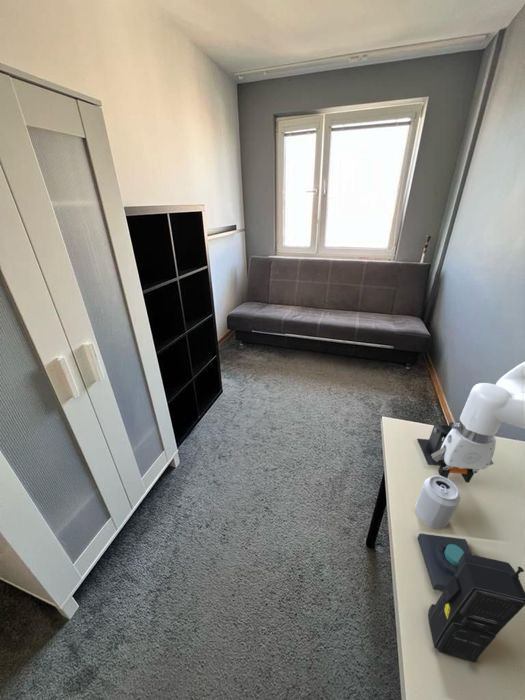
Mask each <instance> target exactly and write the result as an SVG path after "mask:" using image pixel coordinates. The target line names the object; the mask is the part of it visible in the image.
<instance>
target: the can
mask: <svg viewBox="0 0 525 700" xmlns="http://www.w3.org/2000/svg"><path fill="white" fill-rule="evenodd" d="M460 501H461V495H460V491H459V489H458V487H457V485H456V484H455V483H454V482H453V481H452V480H450V479H449V478H448V477H447V478H445V477H442V476H441V475H432V476H430V477H427V479H425V480H424V482H423V484H422V487H421V490H420V493H419V495H418V498H417V500H416V503H415V506H414V511H415V514H416V516H417V518H418V520H420V522H422V523H423V524H424V525H425V526H427V527H429V528H431V529H434V530H442V529H443V530H444V529H446V527H447V526H448V525H449V523H450V521H451V519H452V518H453V516H454V514H455V511H456V509H457V508H458V506H459V504H460Z"/></svg>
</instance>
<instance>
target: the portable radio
mask: <svg viewBox="0 0 525 700" xmlns="http://www.w3.org/2000/svg"><path fill="white" fill-rule="evenodd" d="M524 572H525V570H524V569H523V567H521V566H517V570H515V569H514V568H513V566H512V565H511V564H510V563H509V562H507V561H504V560H498V559H494V558H489V557H485V556H479V555H475V554H472V555H471V554H467V553H463V554H462V556H461V558H460V559H459V561H458V570H457V572H456V573H455V575H454V576H453V578H452V579H451V581H450V582H449V583H448V584H447V586H446V587H445V588H444V589H443V590H441V591H442V593H441V595H440V596H439V598H438V600H437V601H436V603H431V604H430V606H429V608H428V612H427V619H428V625H429V629H430V634H431V635H430V636H431V639H432V644H433V647H434V648H435V649H437V651H438V652H439V653H442V654H445V655H448V656H452V657H455V658H458V659H461V660H465V661H469V662H472V663H476V662H477V660H478V659H479V657H480V656H481V655H482V654H483V652H484V651H485V650H486V649H487V648H488V647H489V646H490V645H491V643H492V642H493V641H494V640H495V638H496V637H497V635H498V634H499V633H500V631H501V630H503V629H504V627H505V626H507V624H508V623H509V622H510V621H511V620H512V619H513V618H514V617H515V616H516V615H517V614H518V613H519V612H520V611H521V610H522V609H523V608H524V607H525V589H524V587H523V585H522V582H521V579H520V574H521V573H524Z"/></svg>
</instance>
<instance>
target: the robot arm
mask: <svg viewBox="0 0 525 700" xmlns="http://www.w3.org/2000/svg"><path fill="white" fill-rule="evenodd" d="M502 424H507V425H510V426H514V427H517V428H520V429H523V430H525V361H523V362H522V363H520V364H518V365H517V366H515V367H514V368H512V369H511V370H509V371H508V372H507V373H505V374H504V375H502V376H501V377H500V378H499V379H498V380H497V381H496V383H495V384H494V383H491V382H490V383H489V382H479V383H476V384H475V385H473V386H472V388H471V390H470V392H469V395H468V396H467V400H466V402H465V405H464V407H463V409H462V411H461V414H460V416H459V418H458V420H457V422H456V423H454V424H452V430H451V431H450V432H449V434H448V435H447V437H446V438H445V440H444V442H443V444H442V446H441V449H440V450H438V451H436V452H434V453H433V454H431V456H432V458H433V459H434V460H435V461H436V462H438V464H439V465H440V466H439V467H438V476H442V477H445V478H447V479H448V477H449V475H450V474H451V473H450V471H449V468H450V467H458V468H464V469H467V471H468V473H467V474H460V475H461V477H462V478H463V480H464V482H465V483H466V484H468V483H470V482H471V480H472V478H473V476H474V474H477V473H479V471H480V470H486V469H487V468H488V467H489V466H492V465H494V461H493V456H494V454H495V451H496V444H497V439H496V435H497V433H498V430H499V429H500V427H501V425H502ZM441 457H442V458H441Z"/></svg>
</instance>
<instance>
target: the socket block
mask: <svg viewBox="0 0 525 700" xmlns="http://www.w3.org/2000/svg"><path fill="white" fill-rule="evenodd" d="M417 541H418V545H419V548H420V551H421V552H420V553H421V555H422V557H423V561H424V564H425V568H426V571H427V573H428V577H429V580H430V583H431V587H432V589H433V590H435V591H436V590H437V591H442V590H443V589H444V588H445V587H446V586H447V584H448V583H449V582H450V581H451V579H452V578H453V576H454V575H455V573H456V572H457V570H458V567H456V566H453V565H452V564H450V563H449V562H448V561H447V559H446V558H445V555H444V550H445V549H446V547H447V545H449V544H454V545H457V546H458V547H460V548H461V549H462V550H463V552H464V553H467V554H471V555H473V553H472V550H471V548H470V546H469V544H468V541H467V539H465V538H458V537H451V536H443V535H435V534H428V533H419V534H418V535H417Z"/></svg>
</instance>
